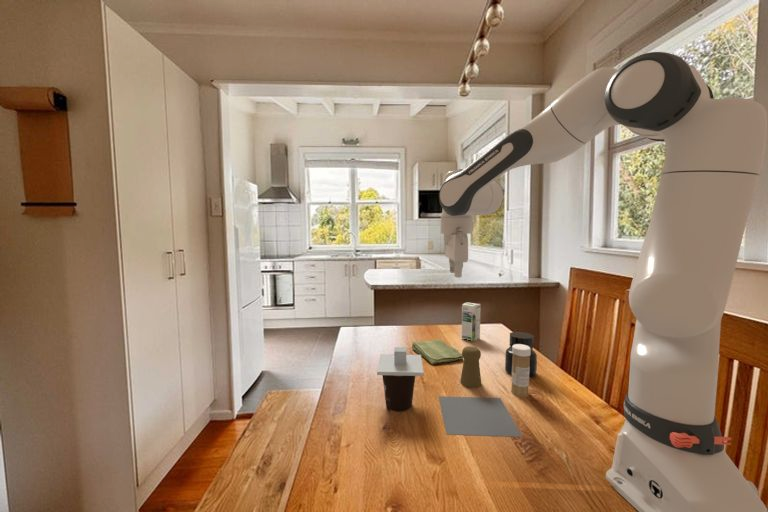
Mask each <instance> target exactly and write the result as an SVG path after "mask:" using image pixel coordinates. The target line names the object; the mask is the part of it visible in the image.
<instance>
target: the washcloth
mask: <svg viewBox="0 0 768 512" xmlns="http://www.w3.org/2000/svg"><path fill="white" fill-rule="evenodd" d="M411 349H412V350H413V351H415V352H416V354H418V353H419V354H418V355H421V357H422V356H423V359H426V361H428V362H429V363H430V364H431V365H433V364H434V365H438V364H437V363H439V364H443V363H442V362H444V363H448V362H449V363H450V362H454V361H457V360H458V359H459V360H464V358H463V356H462V352H460V351H459V350H458V349H457V348H454V347H453V346H451V345H449V344H448V343H447V342H446V341H443V340H442V339H432V340H431V339H430V340H425V341H424V340H420V341H413V342H412V344H411Z"/></svg>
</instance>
